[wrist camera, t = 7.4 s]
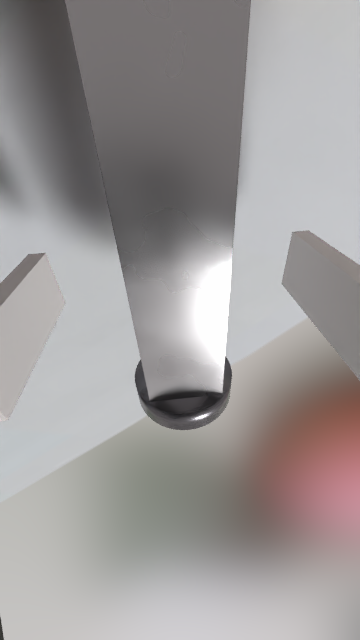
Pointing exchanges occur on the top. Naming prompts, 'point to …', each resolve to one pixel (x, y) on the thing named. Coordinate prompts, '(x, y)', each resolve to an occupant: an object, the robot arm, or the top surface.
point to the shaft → (170, 182)
